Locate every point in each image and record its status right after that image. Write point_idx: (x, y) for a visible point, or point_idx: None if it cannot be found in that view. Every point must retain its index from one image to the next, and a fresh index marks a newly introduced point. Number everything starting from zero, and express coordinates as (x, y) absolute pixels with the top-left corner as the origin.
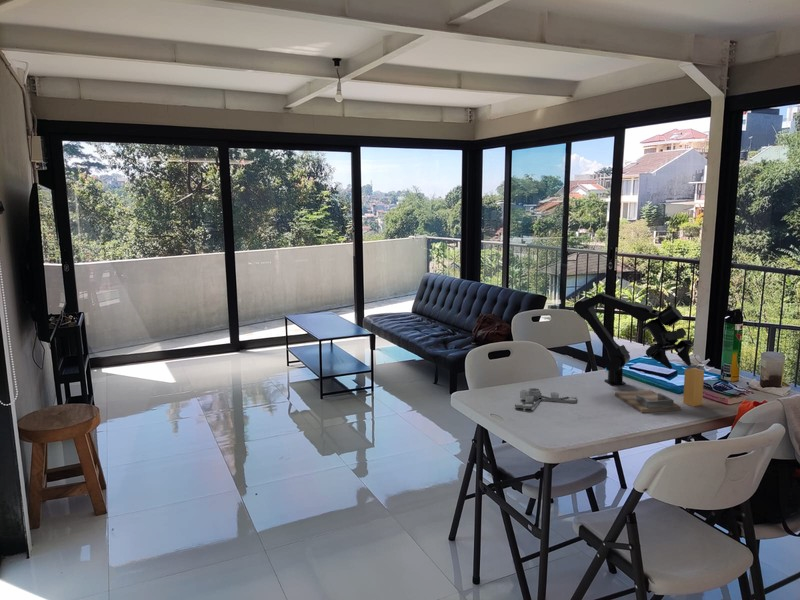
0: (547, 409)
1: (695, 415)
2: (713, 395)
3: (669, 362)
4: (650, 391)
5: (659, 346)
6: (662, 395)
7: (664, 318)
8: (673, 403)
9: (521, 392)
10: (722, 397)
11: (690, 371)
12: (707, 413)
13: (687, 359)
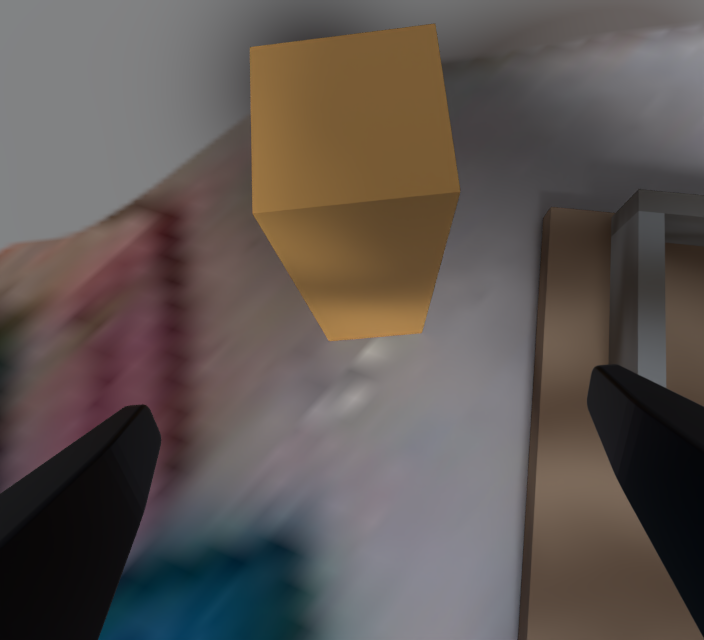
0: None
1: (518, 112)
2: (83, 394)
3: (683, 423)
4: (557, 636)
5: None
6: (660, 322)
7: None
8: (561, 277)
9: None
10: (68, 334)
11: (444, 97)
12: None
13: (78, 497)
